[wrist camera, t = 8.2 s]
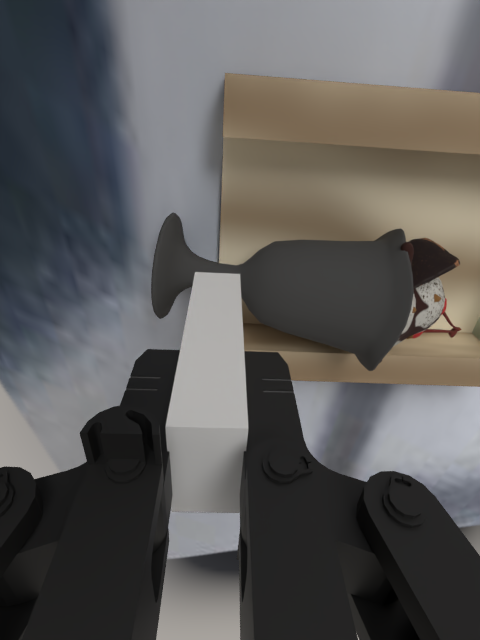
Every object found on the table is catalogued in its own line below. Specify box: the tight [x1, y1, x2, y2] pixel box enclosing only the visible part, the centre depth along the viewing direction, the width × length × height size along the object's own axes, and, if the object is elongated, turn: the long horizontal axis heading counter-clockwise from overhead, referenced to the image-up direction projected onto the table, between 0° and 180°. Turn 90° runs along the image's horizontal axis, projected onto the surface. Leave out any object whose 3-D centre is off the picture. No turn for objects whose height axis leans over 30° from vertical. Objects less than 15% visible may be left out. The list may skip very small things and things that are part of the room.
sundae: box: [151, 213, 462, 371], centre depth 17 cm, size 7×7×15 cm
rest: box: [219, 73, 480, 387], centre depth 18 cm, size 14×17×4 cm
